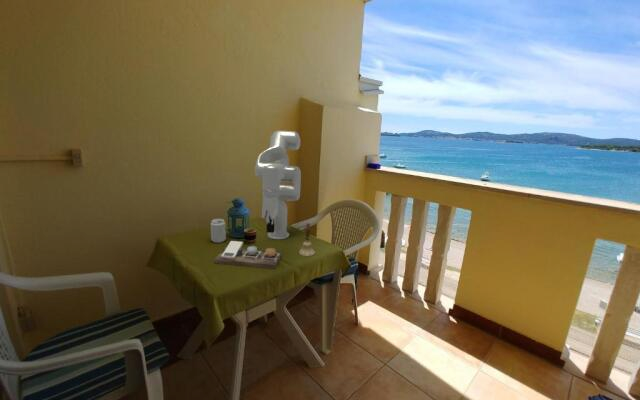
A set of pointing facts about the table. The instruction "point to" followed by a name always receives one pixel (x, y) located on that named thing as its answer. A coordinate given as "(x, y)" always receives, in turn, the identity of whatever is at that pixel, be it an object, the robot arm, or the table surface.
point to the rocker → (232, 250)
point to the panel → (250, 259)
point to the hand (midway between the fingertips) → (270, 231)
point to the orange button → (270, 252)
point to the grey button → (251, 250)
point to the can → (218, 230)
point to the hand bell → (307, 244)
